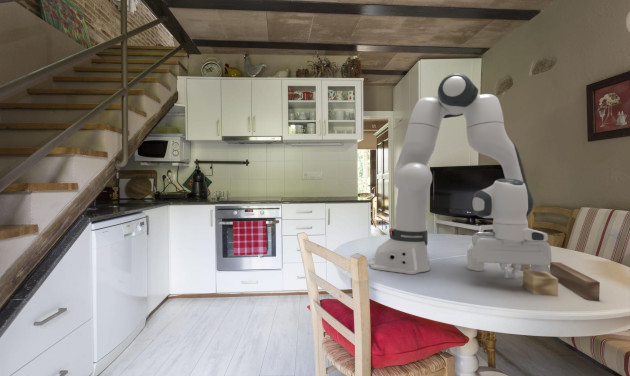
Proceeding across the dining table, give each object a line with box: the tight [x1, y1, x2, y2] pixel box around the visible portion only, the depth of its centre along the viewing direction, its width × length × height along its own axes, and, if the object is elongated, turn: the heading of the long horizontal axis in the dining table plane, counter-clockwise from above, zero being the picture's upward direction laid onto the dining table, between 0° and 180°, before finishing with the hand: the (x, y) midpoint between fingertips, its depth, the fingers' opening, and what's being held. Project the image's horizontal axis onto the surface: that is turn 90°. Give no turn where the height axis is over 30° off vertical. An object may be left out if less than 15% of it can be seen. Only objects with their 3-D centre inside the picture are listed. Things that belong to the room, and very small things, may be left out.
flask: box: [529, 265, 552, 275], centre depth 96 cm, size 7×7×10 cm
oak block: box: [522, 270, 559, 297], centre depth 87 cm, size 6×7×5 cm
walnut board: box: [549, 261, 601, 302], centre depth 89 cm, size 3×20×5 cm, turn 164°
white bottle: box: [466, 242, 485, 272], centre depth 108 cm, size 6×12×6 cm
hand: (510, 277), depth 89 cm, fingers closed
